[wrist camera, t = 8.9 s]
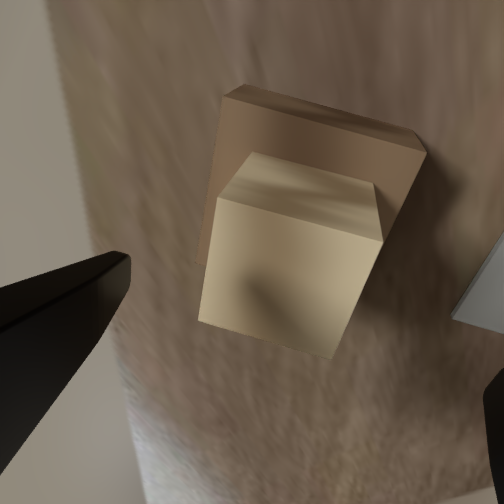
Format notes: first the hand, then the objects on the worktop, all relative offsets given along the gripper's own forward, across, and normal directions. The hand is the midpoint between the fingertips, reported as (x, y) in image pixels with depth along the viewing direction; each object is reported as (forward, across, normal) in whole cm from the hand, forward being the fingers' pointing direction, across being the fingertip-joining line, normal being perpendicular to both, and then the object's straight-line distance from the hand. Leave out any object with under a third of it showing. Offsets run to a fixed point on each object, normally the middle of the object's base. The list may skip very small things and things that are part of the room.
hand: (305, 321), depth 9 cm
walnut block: (+12, +1, +1) cm, 12 cm away
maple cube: (+8, +1, +2) cm, 8 cm away
